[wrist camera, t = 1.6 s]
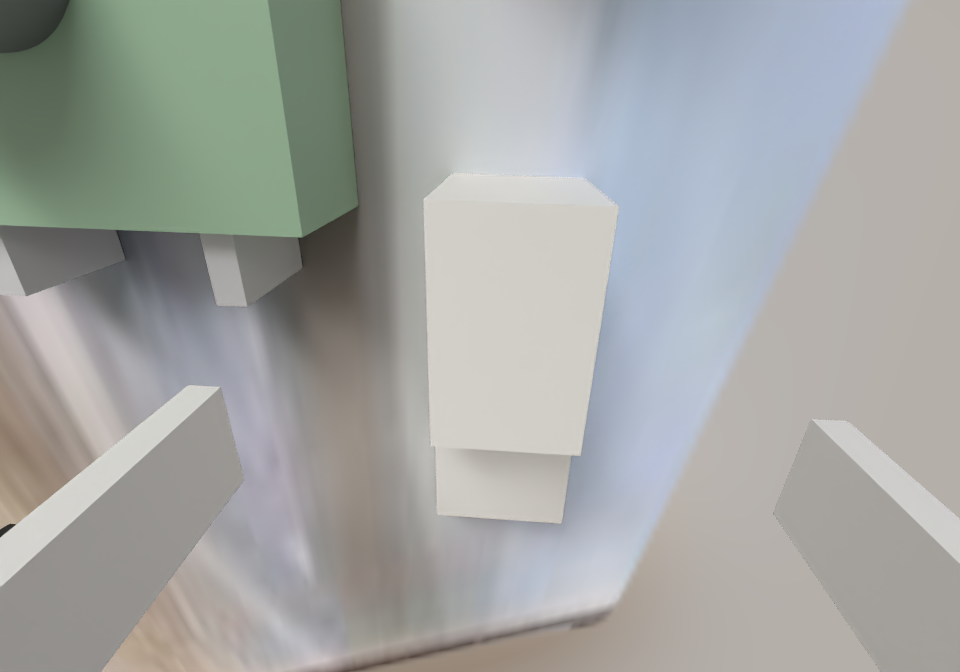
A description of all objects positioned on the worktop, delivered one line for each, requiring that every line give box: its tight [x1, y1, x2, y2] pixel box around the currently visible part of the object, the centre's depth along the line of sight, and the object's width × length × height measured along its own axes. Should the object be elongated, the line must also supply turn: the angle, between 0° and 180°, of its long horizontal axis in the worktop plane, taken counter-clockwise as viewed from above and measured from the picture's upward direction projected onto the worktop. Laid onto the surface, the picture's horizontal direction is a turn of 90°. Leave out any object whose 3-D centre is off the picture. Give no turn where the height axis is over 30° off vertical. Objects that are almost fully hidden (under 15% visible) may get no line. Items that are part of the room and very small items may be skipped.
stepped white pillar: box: [423, 173, 619, 524], centre depth 20 cm, size 17×7×7 cm, turn 179°
